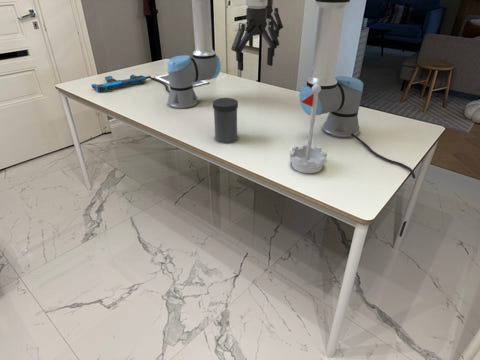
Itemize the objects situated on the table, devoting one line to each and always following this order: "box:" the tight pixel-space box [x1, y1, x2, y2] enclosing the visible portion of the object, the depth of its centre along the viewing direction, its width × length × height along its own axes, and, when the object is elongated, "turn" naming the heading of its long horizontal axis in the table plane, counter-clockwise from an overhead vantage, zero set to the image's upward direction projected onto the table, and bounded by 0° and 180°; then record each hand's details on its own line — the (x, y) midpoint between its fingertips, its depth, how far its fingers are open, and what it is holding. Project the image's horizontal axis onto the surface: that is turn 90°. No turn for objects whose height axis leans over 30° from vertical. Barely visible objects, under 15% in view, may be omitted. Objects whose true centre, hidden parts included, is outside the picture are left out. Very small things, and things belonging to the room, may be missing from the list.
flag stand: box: [289, 84, 328, 174], centre depth 116 cm, size 13×13×30 cm
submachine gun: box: [90, 74, 152, 92], centre depth 206 cm, size 34×4×25 cm
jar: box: [213, 108, 238, 144], centre depth 140 cm, size 9×9×16 cm
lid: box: [212, 97, 239, 112], centre depth 136 cm, size 10×10×2 cm
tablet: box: [153, 73, 210, 88], centre depth 212 cm, size 32×20×1 cm, turn 41°
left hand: (255, 67), depth 133 cm, fingers open, 13 cm apart
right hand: (263, 45), depth 167 cm, fingers open, 13 cm apart
